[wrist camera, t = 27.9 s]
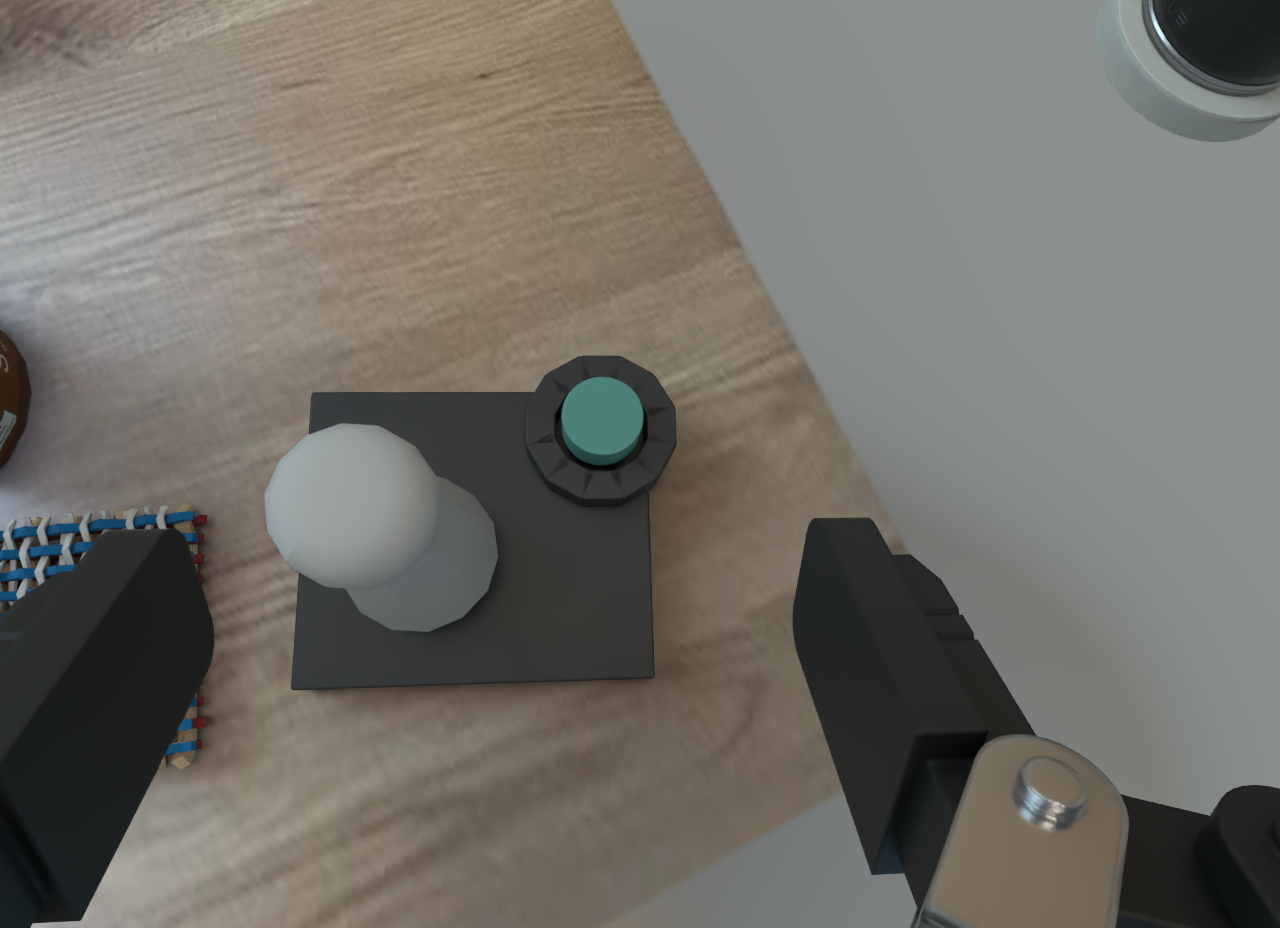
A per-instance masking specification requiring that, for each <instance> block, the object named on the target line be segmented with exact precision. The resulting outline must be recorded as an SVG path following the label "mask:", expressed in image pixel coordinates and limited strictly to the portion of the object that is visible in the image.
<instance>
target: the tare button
mask: <svg viewBox="0 0 1280 928" xmlns="http://www.w3.org/2000/svg"><path fill="white" fill-rule="evenodd" d="M643 421H644V414H643V408H642V404H641V402H640V400H639V398H638V396H637V395H636V393H635V392H634V391H633V390H632V389H631V388H630V387H629V386H628V385H626V384H625V383H623V382H621V381H619V380H616V379H613V378H609V377H595V378H591V379H588V380H585V381H583V382H581V383H579V384H578V385H577V386H575V387H574V388H573V389H572V390H571V391H570V393H569V394H568V395H567V397H566V399H565V401H564V404H563V407H562V434H563V438H564V441H565V443H566V445H567V447H568V448H569V450H570V451H571V452H572V453H573V454H574V455H575V456H576V457H577V458H579V459H580V460H582V461H584V462H586V463H589V464H592V465H600V466H603V465H611V464H614V463H617V462H619V461H621V460H623V459H624V458H626V457H627V456H628V455H629V454H630V453H631V452H632V451H633V449H634V448H635V446H636V444H637V442H638V439H639V436H640V433H641V429H642V426H643Z"/></svg>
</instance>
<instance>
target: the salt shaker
mask: <svg viewBox="0 0 1280 928" xmlns="http://www.w3.org/2000/svg"><path fill="white" fill-rule="evenodd" d="M264 498H265V510H266V522H267V531H268V533H269V535H270V536H271V538H272V540H273V541H274V543H275V544H276V546H277V548H278V549H279V551H280V553H281V554H282V556H283V557H284V559H285V561H286V562H287V563H288V565H289V566H290V567H291V568H292V569H294V570H296V571H297V572H299V573H301V574H303V575H305V576H307V577H308V578H310V579H312V580H314V581H316V582H317V583H319V584H321V585H323V586H325V587H331V588H345V589H346V591H347V592H348V594H349V595H350V597H351V598H352V600H353V602H354V603H355V605H356V606H357V608H358V609H359V611H360V612H361V613H362V614H364V615H366V616H368V617H370V618H371V619H373V620H375V621H377V622H378V623H380V624H382V625H384V626H386V627H387V628H389V629H391V630H403V631H421V632H429V631H431V630H434V629H436V628H439V627H441V626H444V625H446V624H448V623H451V622H453V621H456V620H458V619H460V618H463V617H464V615H465V614H466V613H467V612H468V611H469V610H470V609H471V608H472V607H473V606H474V605H475V604H476V603H477V602H478V601H479V600H480V598H481V597H482V596H483V595H484V594H485V593H486V592H487V591H488V588H489V585H490V582H491V579H492V575H493V572H494V569H495V566H496V563H497V560H498V552H497V544H496V536H495V528H494V522H493V521H492V520H491V518H490V517H489V515H488V514H487V513H486V511H485V510H484V508H483V507H482V506H481V504H480V503H479V501H478V500H477V499H476V497H475V496H474V495H472V494H471V493H469V492H467V491H465V490H464V489H462V488H460V487H459V486H457V485H455V484H453V483H452V482H450V481H448V480H447V479H445V478H441V477H437V476H436V475H435V473H434V472H433V471H432V469H431V468H430V466H429V465H428V463H427V462H426V461H425V459H424V458H423V456H422V455H421V453H420V452H419V451H418V449H417V448H416V446H414V445H412V444H411V443H409V442H407V441H405V440H404V439H402V438H400V437H398V436H397V435H395V434H393V433H391V432H390V431H388V430H386V429H384V428H382V427H380V426H377V425H361V424H344V423H341V424H338V425H335V426H332V427H329V428H326V429H323V430H320V431H318V432H315V433H312V434H309V435H306V436H305V437H304V438H303V439H302V440H301V441H300V442H299V443H297V444H296V445H295V446H294V447H293V448H292V449H291V450H290V451H289V452H288V453H287V454H286V455H285V456H284V457H283V458H282V459H281V460H280V461H279V462H278V464H277V467H276V469H275V471H274V474H273V476H272V478H271V481H270V483H269V485H268V488H267V490H266V492H265V495H264Z"/></svg>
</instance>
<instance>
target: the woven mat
mask: <svg viewBox="0 0 1280 928" xmlns="http://www.w3.org/2000/svg"><path fill="white" fill-rule="evenodd" d="M143 508H144V511H145V515H141V516H138V517H135V516H136V513H137V511H138V509H132V508H130V509H125V510H120V511H119V512H118V513H116V514H115V515H114V516H113V517H114V519H111V517H110V514H109V510H108V509H105V510H100V511H101V515H102V519H98V520H96V521H93V522H90V519H91V517H92V512H89V513H86V514H85V516H84V518H83V520H82V517H74V516H73V513H68V514H66V515H67V517H62V520H61V524H56V525H52V526H49V522H50V520H51V516H44V518H41V517H38V516H37V517H36V518H35V519H33V520H31V518H30V516H29V517H24V518H23V520H24V523H25V526H24V527H20V528H17V529H14V527H15V525H16V523H17V522H16V519H14V520H10V521H9V523H8V525H7V527H6V529H5V531H0V544H3V546H2V550H0V619H1V618H2V617H3V615H4V614H5V613H6V612H7V611H8V610H9V608H10V607H11V606H12V605H13V604H14V603H15V602H16V601H17V600H18V599H20V598H21V597H22V596H24V595H25V594H27V593H28V592H30V591H31V590H33V589H34V588H36V587H37V586H39V585H40V584H42V583H43V582H45V581H46V580H48V579H49V578H51V577H52V576H54V575H55V574H57V573H58V572H62V571H72V570H73V569H74V567H75V566H76V565H77V564H78V562H79V561H80V560H81V559H82V558H83V556H84V555H85V554H86V553H87V551H88V550H89V549H90V548H91V546H92V545H93V544H94V543H95V542H96V540H97V539H98V538H99V537H100V536H101V535H102V534H103V533H105V532H106V531H109V530H123V529H168V528H174V529H177V530H179V531H180V532H181V533H182V534H183V535H184V536H185V538H186V540H187V542H188V545H189V548H190V551H191V554H192V558H193V561H194V564H195V567H196V570H197V573H198V563H204V555H203V554H198V544H201V543H203V541H204V535H203V534H197V533H196V531H195V528H194V527H198V526H201V525H203V524H206V523H207V515H199V516H196V517H194V504H189V503H184V502H183V503H182V504H181V505H180V507H179V508H178V509H177V510H176V511H175V512H174V513H172V514H167V515H166V513H167V510H168V508H169V506H162V505H161V508H160V510H159V513H158V515H153V512H152V508H151V505H147V506H143ZM89 522H90V523H89ZM81 536H82V538H83V542H81ZM57 539H60V545H49V543H48V542H50V541H54V540H57ZM80 557H81V559H80ZM53 558H59V565H54V566H52V564H51V559H53ZM30 561H31V562H30ZM198 577H199V580H200V583H203V574H200V573H199V574H198ZM20 582H22V583H21V585H20V587H19V589H18V585H19V583H20ZM29 585H30V589H28V587H29ZM202 684H203V681H202V683H201V685H202ZM197 706H203V697H197V693H196V695H195V697H194V699H193V701H192V703H191V705H190V707H189V709H188V711H187V713H186V715H185V716H184V718H183V720H182V722H181V724H180V726H179V728H178V730H177V731H178V739H177V743H171V744H170V746H169V748H168V750H167V752H166V754H173V753H174V755H173V757H172V760H171V763H172V764H174V765H175V766H177V767H178V768H180V769H183V768H185V767H186V766H188V765H190V764H191V762H192V759H193V757H194V754H195V752H196V750H197V749H202V740H197V728H202V727H206V717H200V718H197ZM166 754H165V756H164V758H163V760H162V762H161V764H160V766H159V768H158V769H161V768H166Z"/></svg>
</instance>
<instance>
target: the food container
mask: <svg viewBox="0 0 1280 928" xmlns="http://www.w3.org/2000/svg"><path fill="white" fill-rule="evenodd" d="M30 398H31V389H30V384H29V379H28V373H27V368H26V363H25V361H24V359H23V358H22V356H21V354H20V353H19V351H18V350H17V348H16V346H15V345H14V343H13V342H12V340H10V339H9V338H8V337H7V336H6V335H5V334H4V333H3V332H2V331H1V330H0V469H1V468H2V467H3V466H4V464H5V463H6V462H7V461H8V460H9V458H10V456H11V454H12V452H13V450H14V448H15V446H16V444H17V443H18V441H19V439H20V437H21V435H22V433H23V431H24V429H25V427H26V422H27V416H28V410H29V404H30Z"/></svg>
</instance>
